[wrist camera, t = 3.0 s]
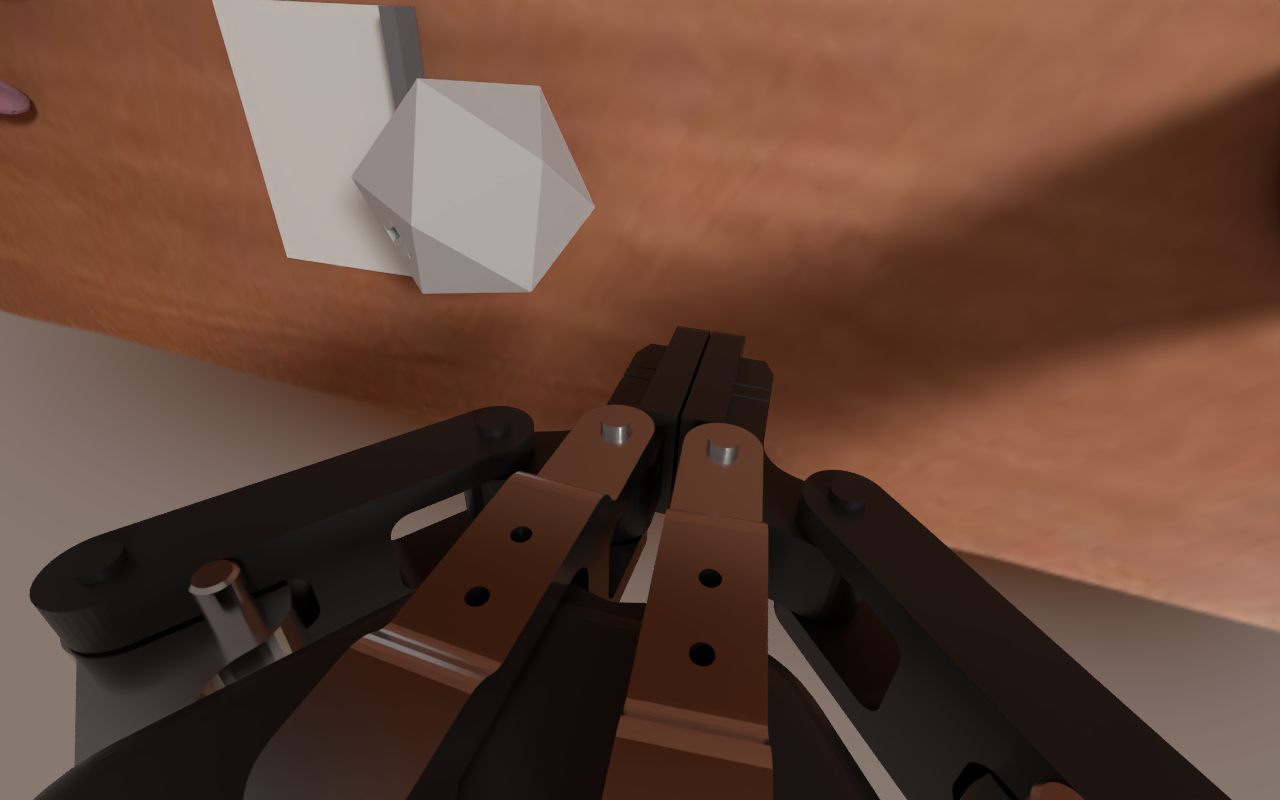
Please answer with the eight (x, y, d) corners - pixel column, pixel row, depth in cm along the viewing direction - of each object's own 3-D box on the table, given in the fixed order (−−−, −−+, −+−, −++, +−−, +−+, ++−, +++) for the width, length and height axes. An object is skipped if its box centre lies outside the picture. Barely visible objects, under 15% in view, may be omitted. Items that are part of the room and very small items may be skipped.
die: (416, 121, 30) (258, 158, 22) (563, 32, 26) (438, 37, 18) (501, 275, 33) (391, 359, 25) (642, 218, 29) (568, 294, 21)
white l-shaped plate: (414, 7, 27) (394, 6, 26) (452, 280, 34) (438, 290, 33) (216, -3, 29) (189, -4, 28) (290, 255, 36) (272, 264, 35)
